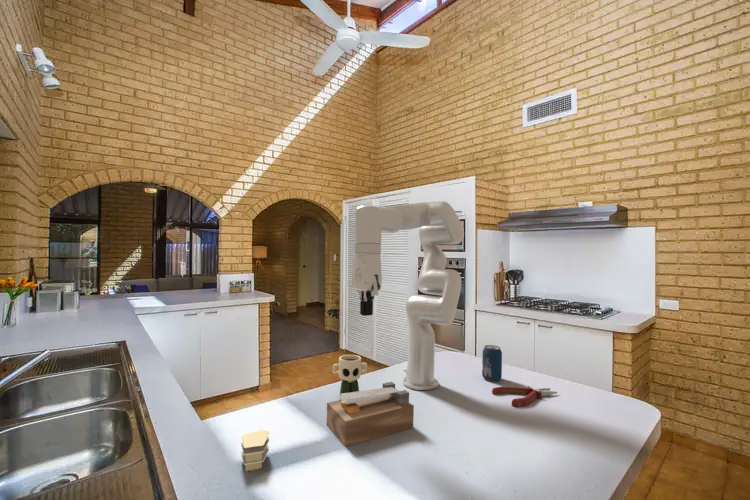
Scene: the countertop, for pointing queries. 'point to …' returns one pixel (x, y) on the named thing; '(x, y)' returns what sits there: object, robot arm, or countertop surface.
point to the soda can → (492, 363)
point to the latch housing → (370, 417)
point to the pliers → (528, 391)
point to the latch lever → (368, 395)
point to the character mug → (349, 372)
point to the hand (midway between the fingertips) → (366, 314)
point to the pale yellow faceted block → (254, 449)
